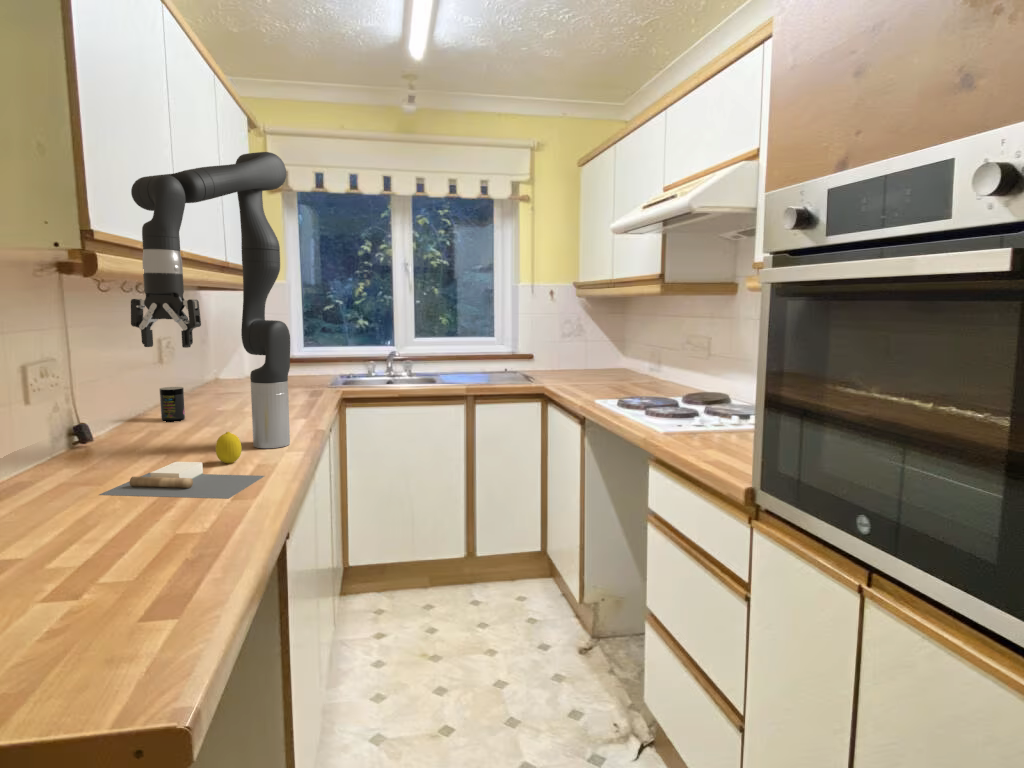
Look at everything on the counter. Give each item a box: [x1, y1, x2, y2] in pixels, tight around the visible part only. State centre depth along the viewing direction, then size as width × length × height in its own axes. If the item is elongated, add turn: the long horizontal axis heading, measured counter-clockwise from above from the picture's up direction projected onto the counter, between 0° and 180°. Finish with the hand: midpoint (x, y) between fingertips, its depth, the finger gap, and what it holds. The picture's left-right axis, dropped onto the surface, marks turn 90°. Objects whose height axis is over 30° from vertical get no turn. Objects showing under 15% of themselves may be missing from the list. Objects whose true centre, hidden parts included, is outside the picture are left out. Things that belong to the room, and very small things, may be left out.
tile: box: [150, 461, 204, 479], centre depth 134 cm, size 2×6×9 cm
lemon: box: [215, 431, 243, 465], centre depth 147 cm, size 6×6×8 cm
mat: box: [98, 472, 265, 500], centre depth 130 cm, size 16×26×1 cm, turn 87°
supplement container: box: [159, 386, 186, 423], centre depth 199 cm, size 7×7×10 cm
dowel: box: [129, 476, 193, 488], centre depth 128 cm, size 2×12×2 cm, turn 87°
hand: (167, 347), depth 137 cm, fingers open, 8 cm apart
